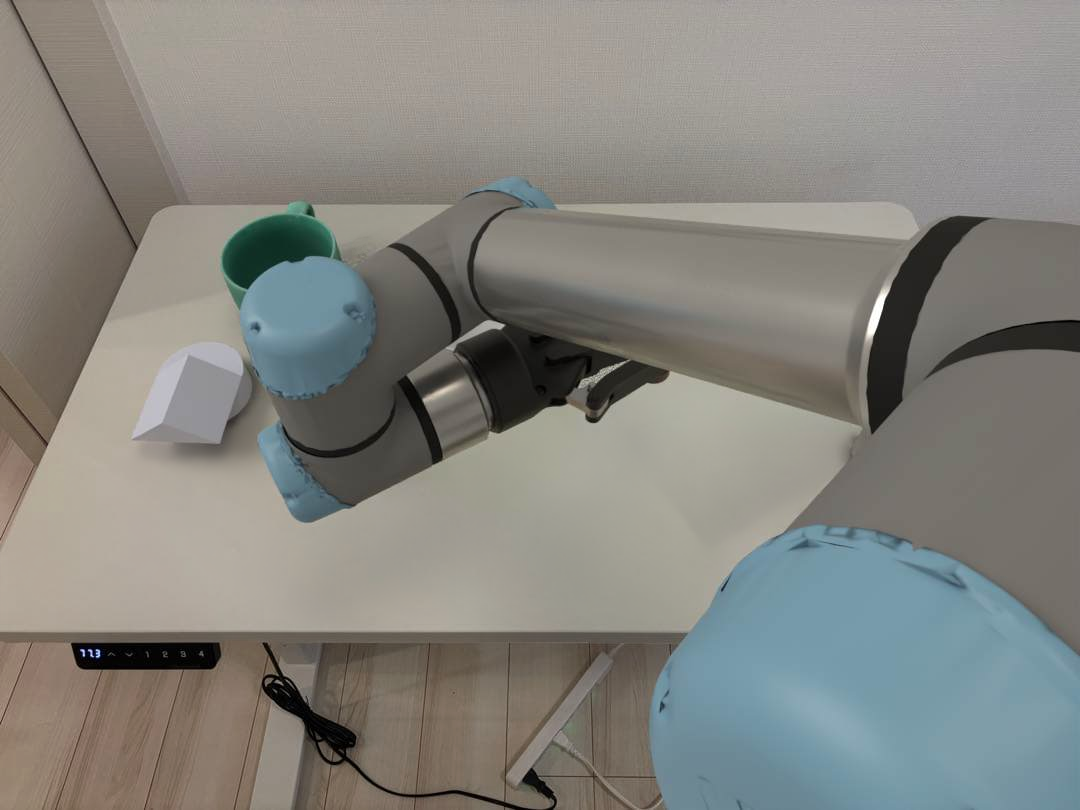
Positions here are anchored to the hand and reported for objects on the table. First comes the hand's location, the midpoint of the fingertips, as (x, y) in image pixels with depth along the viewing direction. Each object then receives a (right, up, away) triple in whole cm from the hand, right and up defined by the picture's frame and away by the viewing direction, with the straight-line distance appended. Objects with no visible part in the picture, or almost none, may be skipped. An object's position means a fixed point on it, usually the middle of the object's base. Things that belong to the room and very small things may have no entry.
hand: (718, 278), depth 67 cm
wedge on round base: (-51, -11, +19) cm, 56 cm away
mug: (-43, +2, +28) cm, 52 cm away
